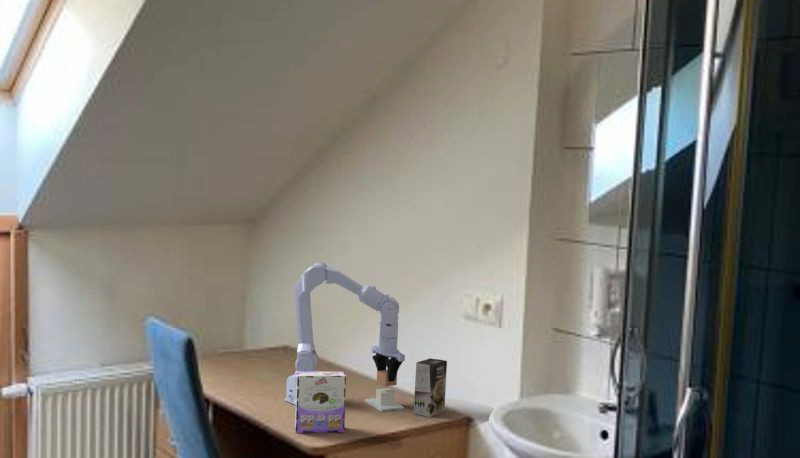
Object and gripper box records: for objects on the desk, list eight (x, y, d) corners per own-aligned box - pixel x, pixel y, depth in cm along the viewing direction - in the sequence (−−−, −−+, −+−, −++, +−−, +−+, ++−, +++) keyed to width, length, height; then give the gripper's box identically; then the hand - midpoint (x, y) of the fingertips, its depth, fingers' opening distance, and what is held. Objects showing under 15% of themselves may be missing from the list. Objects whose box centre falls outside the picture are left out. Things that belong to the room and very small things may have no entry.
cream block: (380, 405, 266) (381, 392, 265) (375, 401, 270) (376, 389, 269) (393, 404, 267) (394, 392, 267) (389, 400, 271) (389, 388, 271)
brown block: (385, 386, 265) (385, 374, 265) (376, 383, 268) (377, 371, 268) (396, 384, 268) (397, 372, 267) (387, 381, 271) (388, 369, 271)
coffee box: (430, 417, 257) (433, 365, 256) (412, 413, 261) (415, 362, 260) (445, 411, 265) (448, 360, 264) (427, 407, 268) (430, 357, 267)
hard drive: (364, 398, 272) (381, 408, 261) (387, 396, 276) (405, 406, 265) (364, 403, 272) (381, 414, 261) (387, 401, 276) (404, 411, 265)
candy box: (342, 426, 244) (344, 370, 243) (344, 433, 238) (346, 375, 237) (294, 427, 242) (296, 370, 241) (295, 433, 236) (297, 375, 235)
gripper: (413, 339, 264) (411, 382, 265) (384, 331, 275) (382, 373, 276) (395, 341, 259) (393, 385, 260) (366, 333, 271) (365, 375, 271)
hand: (386, 379), depth 268 cm, fingers closed on brown block, 4 cm apart
